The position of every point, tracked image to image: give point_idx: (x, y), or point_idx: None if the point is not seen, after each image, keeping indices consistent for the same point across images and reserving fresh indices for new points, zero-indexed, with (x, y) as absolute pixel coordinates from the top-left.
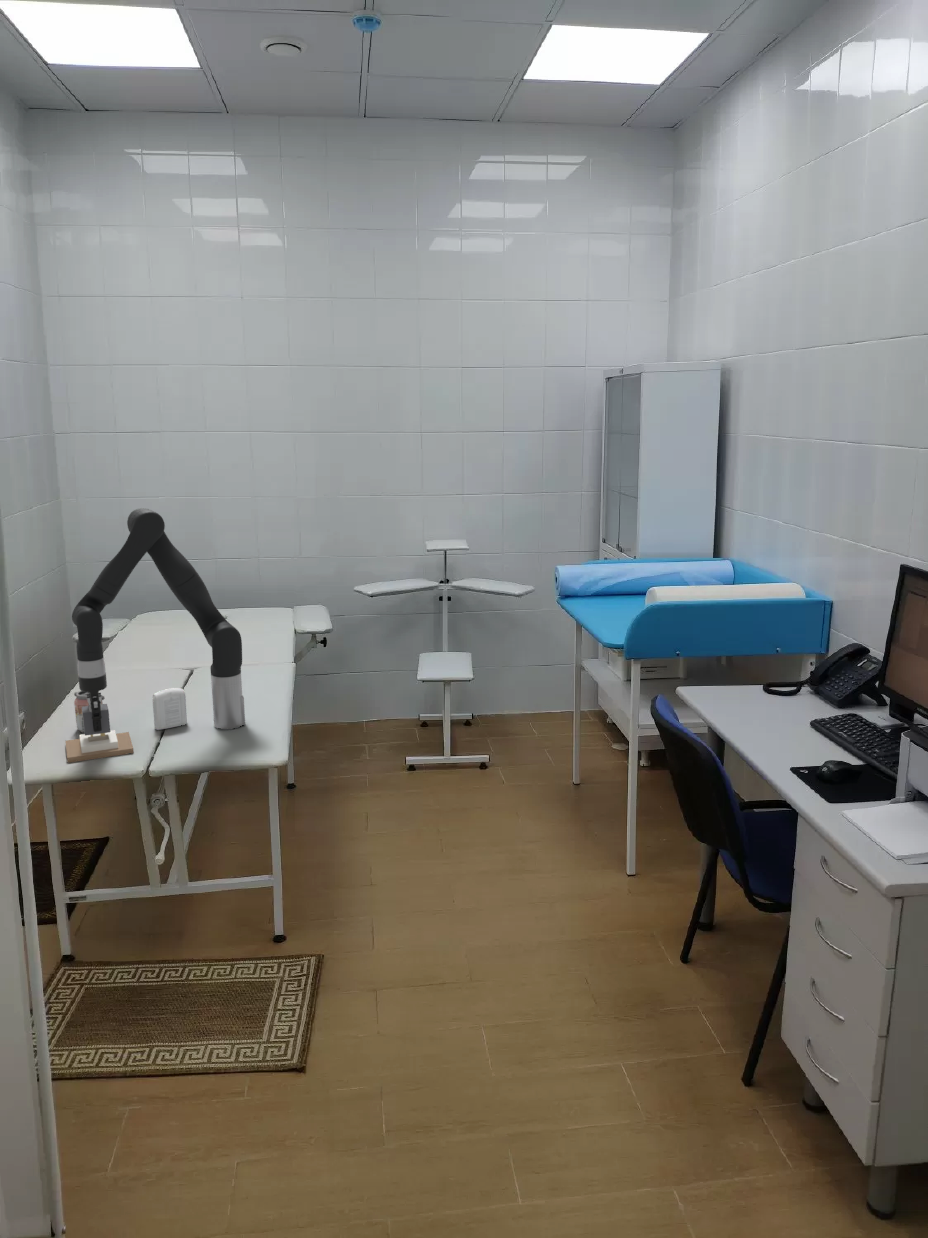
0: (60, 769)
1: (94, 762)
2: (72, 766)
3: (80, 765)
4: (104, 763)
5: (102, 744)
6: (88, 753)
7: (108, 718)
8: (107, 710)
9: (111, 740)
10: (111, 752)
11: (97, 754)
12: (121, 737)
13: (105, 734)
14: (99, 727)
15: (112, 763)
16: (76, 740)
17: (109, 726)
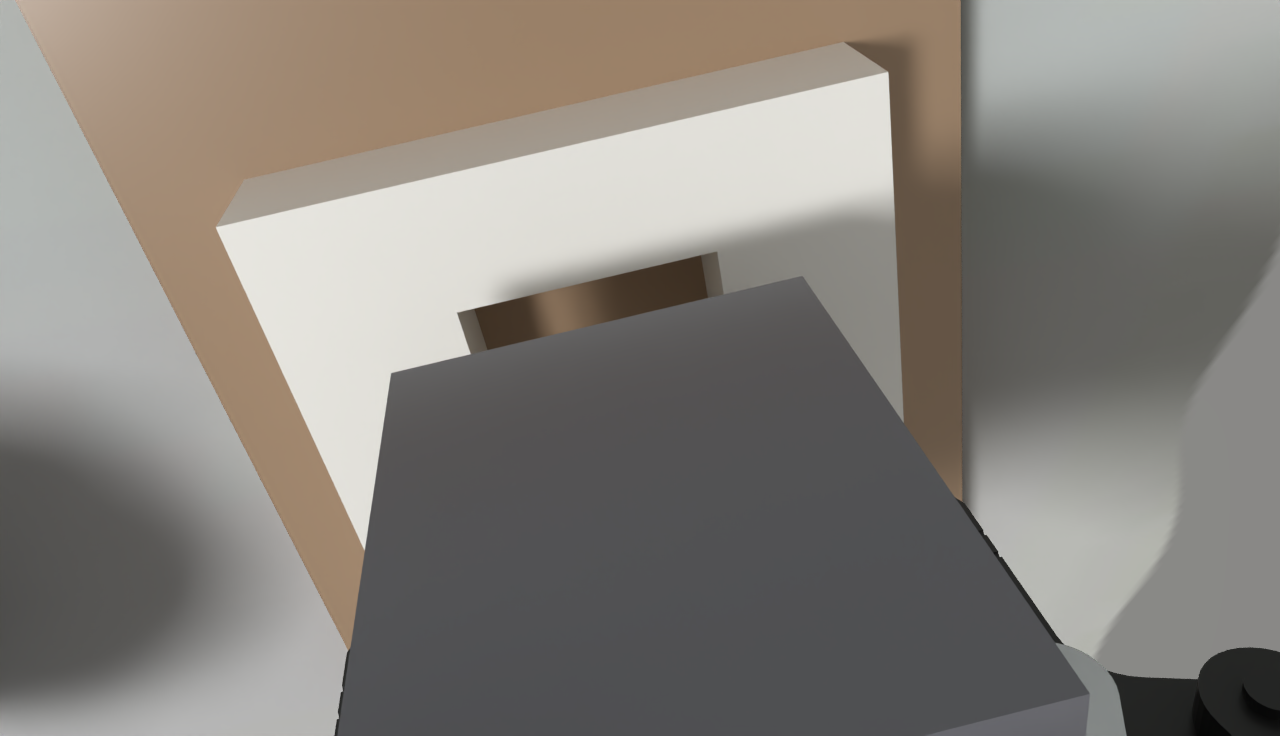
0: (1081, 581)
1: (1045, 302)
2: (1055, 500)
3: (1065, 432)
4: (1138, 172)
5: (893, 313)
6: (914, 428)
7: (931, 484)
8: (1073, 698)
9: (791, 198)
10: (954, 130)
11: (954, 314)
12: (322, 56)
13: (462, 351)
14: (978, 531)
15: (1192, 60)
16: None
17: (851, 349)
